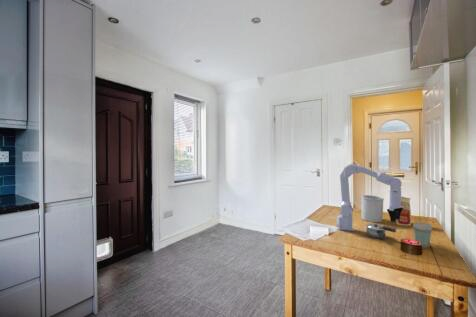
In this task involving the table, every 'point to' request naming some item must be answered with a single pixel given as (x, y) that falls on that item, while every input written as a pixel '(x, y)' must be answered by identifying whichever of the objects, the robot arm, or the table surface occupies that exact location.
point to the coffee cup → (422, 233)
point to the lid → (380, 227)
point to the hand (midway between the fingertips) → (394, 220)
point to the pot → (376, 233)
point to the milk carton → (405, 212)
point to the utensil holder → (372, 208)
